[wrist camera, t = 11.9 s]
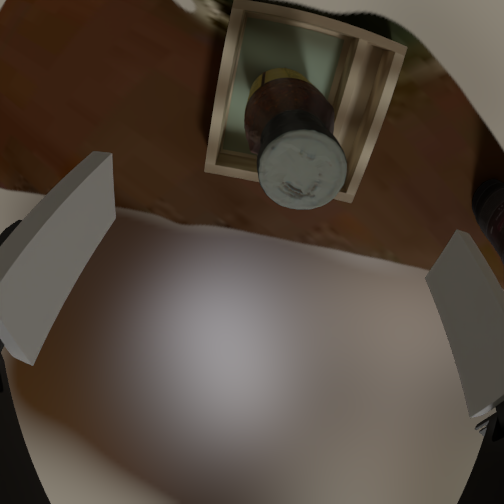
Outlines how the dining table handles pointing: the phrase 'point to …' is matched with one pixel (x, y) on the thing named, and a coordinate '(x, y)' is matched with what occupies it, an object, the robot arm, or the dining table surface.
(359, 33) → the box
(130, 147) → the dining table surface
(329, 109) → the sauce bottle
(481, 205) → the camera lens
